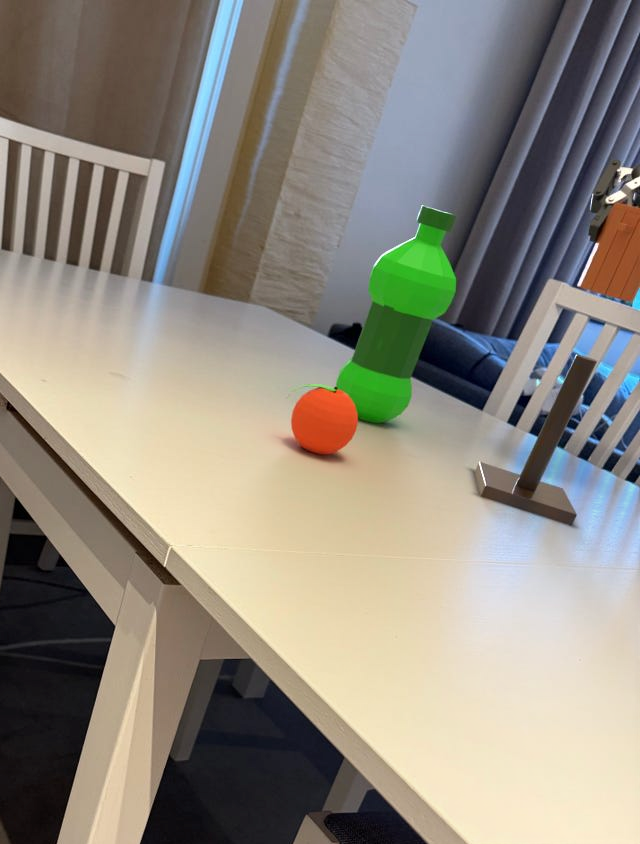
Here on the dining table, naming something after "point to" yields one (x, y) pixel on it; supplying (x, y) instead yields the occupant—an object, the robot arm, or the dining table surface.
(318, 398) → the clementine
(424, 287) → the plastic bottle
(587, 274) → the orange letterbox
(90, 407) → the dining table surface
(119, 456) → the dining table surface
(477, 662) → the dining table surface
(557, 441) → the stand
